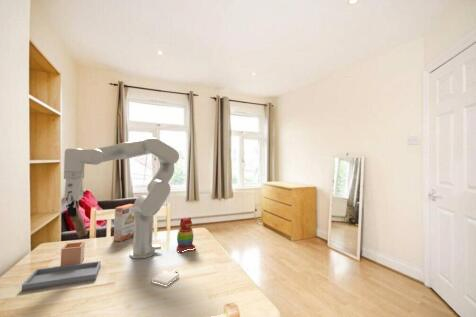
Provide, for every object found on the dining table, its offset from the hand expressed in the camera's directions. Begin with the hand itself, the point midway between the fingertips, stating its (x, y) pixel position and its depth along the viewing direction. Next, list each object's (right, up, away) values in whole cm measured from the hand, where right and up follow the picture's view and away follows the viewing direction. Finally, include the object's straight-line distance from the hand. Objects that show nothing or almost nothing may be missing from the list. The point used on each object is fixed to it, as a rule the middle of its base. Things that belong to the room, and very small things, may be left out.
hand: (72, 215), depth 102 cm
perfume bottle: (+45, -27, -4) cm, 53 cm away
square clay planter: (-4, -25, +5) cm, 26 cm away
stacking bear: (+45, -27, +29) cm, 60 cm away
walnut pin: (+1, -2, +1) cm, 3 cm away
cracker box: (+2, -26, +43) cm, 50 cm away
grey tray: (+2, -25, -7) cm, 26 cm away
